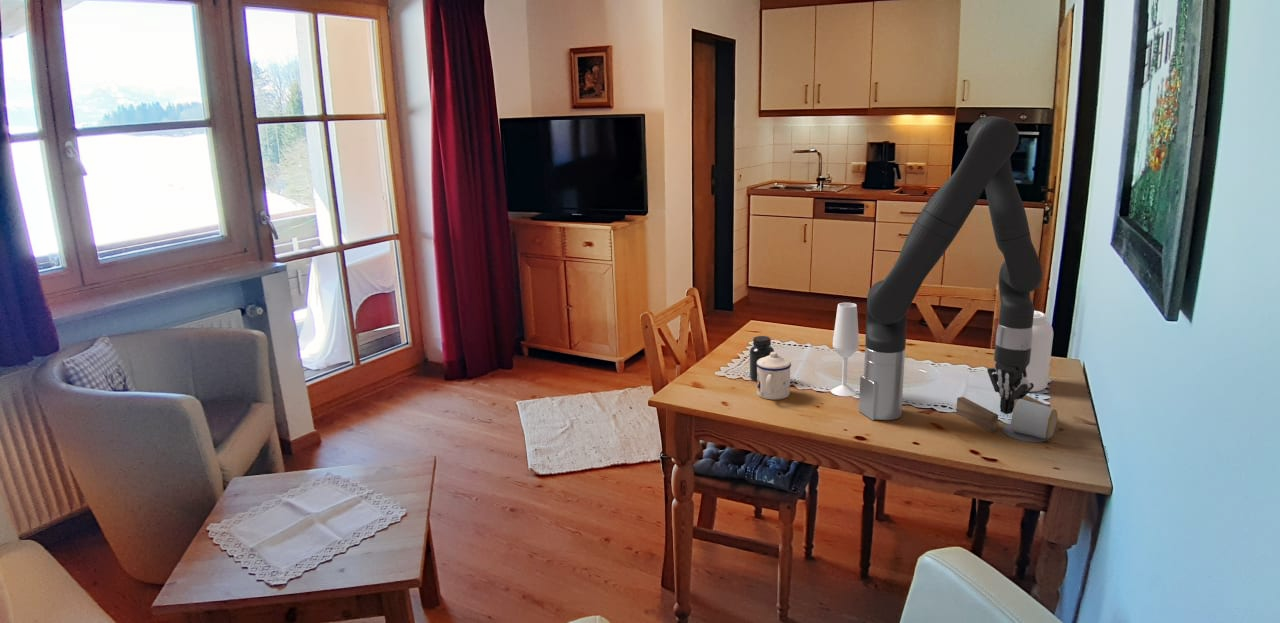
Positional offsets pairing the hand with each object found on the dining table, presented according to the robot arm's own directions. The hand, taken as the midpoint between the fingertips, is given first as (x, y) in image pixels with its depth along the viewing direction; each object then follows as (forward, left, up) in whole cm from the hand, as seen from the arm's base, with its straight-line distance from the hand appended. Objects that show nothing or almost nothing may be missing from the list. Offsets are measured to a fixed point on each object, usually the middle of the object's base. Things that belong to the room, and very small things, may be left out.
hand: (1006, 412), depth 177 cm
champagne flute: (-26, +30, -2) cm, 39 cm away
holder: (0, +2, -2) cm, 3 cm away
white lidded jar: (+20, +18, -2) cm, 27 cm away
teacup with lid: (-45, +34, -2) cm, 56 cm away
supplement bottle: (-42, +47, -2) cm, 63 cm away
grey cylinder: (0, -8, -2) cm, 8 cm away
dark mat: (-1, -7, -2) cm, 8 cm away
